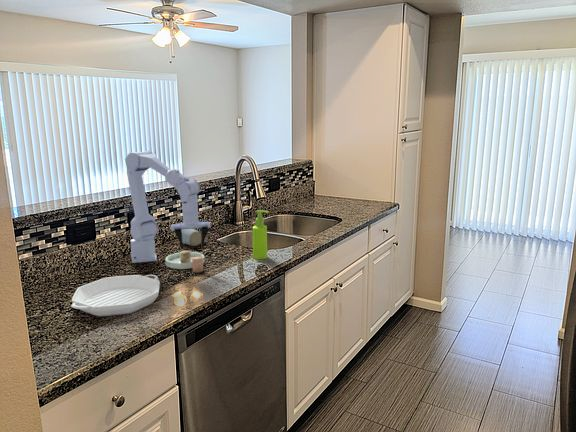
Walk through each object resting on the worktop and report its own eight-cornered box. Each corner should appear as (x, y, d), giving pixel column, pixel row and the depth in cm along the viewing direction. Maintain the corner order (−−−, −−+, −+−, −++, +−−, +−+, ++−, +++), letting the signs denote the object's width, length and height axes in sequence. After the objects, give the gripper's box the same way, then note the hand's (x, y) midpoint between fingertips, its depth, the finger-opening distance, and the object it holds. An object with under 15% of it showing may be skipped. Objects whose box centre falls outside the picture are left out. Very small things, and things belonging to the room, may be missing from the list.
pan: (131, 279, 163) (130, 268, 162) (183, 293, 150) (182, 281, 149) (49, 311, 137) (47, 297, 136) (103, 331, 124) (101, 316, 123)
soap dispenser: (267, 260, 184) (267, 212, 180) (251, 258, 186) (250, 211, 181) (271, 255, 190) (270, 209, 185) (255, 254, 191) (254, 208, 187)
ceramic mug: (190, 248, 200) (190, 231, 199) (179, 244, 206) (179, 228, 204) (209, 243, 208) (209, 227, 206) (198, 240, 213) (198, 224, 212)
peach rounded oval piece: (193, 272, 169) (192, 260, 168) (192, 269, 173) (191, 257, 172) (203, 271, 170) (203, 259, 169) (202, 268, 174) (202, 256, 173)
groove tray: (166, 270, 172) (166, 265, 171) (165, 258, 186) (165, 253, 185) (206, 266, 176) (205, 261, 176) (202, 255, 190) (201, 250, 190)
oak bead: (181, 266, 175) (180, 254, 174) (180, 263, 178) (179, 251, 177) (191, 265, 176) (190, 253, 175) (190, 262, 180) (190, 250, 178)
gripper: (170, 215, 163) (173, 251, 166) (211, 213, 167) (212, 248, 170) (170, 212, 170) (172, 246, 173) (208, 209, 174) (210, 243, 177)
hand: (192, 247), depth 172 cm, fingers open, 7 cm apart
